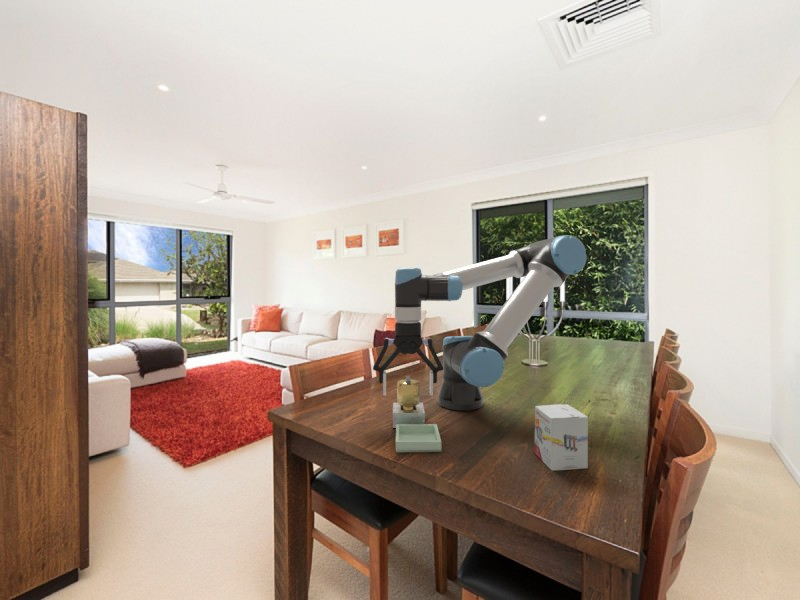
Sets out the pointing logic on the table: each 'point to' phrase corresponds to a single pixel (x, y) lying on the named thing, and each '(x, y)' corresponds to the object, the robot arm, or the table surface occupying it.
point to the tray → (417, 438)
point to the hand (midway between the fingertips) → (408, 394)
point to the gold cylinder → (408, 393)
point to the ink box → (561, 437)
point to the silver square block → (408, 415)
